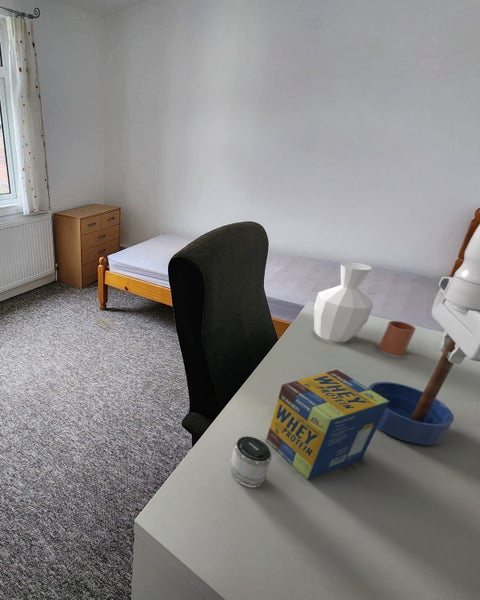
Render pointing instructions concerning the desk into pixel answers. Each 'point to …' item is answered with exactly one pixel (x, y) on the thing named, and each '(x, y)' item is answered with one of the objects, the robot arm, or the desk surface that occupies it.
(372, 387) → the bowl
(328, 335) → the vase
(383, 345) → the holder
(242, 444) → the small jar
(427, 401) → the stick
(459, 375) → the desk surface
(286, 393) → the protein box
